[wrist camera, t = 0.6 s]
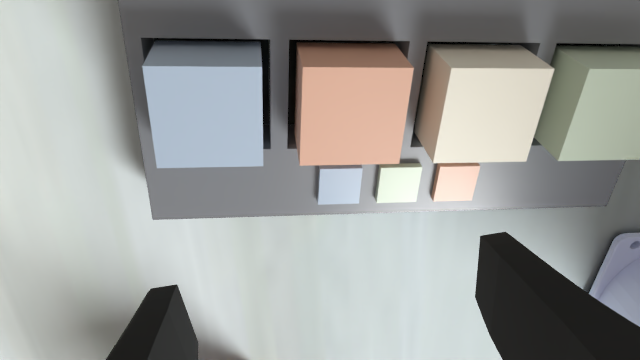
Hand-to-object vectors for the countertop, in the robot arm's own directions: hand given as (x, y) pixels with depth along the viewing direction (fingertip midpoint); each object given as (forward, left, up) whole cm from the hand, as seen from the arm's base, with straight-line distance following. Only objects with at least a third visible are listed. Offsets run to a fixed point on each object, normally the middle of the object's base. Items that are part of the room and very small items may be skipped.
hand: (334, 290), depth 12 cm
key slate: (+3, -2, -8) cm, 9 cm away
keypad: (-4, -2, -10) cm, 10 cm away
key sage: (-11, -2, -8) cm, 13 cm away
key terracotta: (-1, -2, -8) cm, 8 cm away
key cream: (-6, -2, -8) cm, 10 cm away
